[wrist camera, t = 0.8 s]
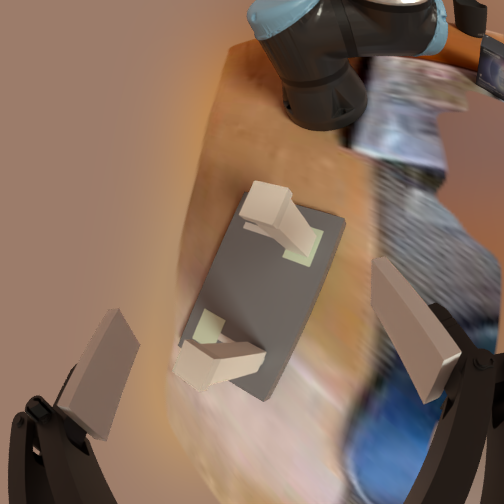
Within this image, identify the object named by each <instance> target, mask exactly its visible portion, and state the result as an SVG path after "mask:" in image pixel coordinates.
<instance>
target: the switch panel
mask: <svg viewBox="0 0 504 504" xmlns="http://www.w3.org/2000/svg"><path fill="white" fill-rule="evenodd" d="M247 195H248V192H244V194H243V197H242V199H241V201H240V203H239V205H238V207H237V210H236V212H235V214H234V216H233V218H232V221H231V223H230V225H229V227H228V229H227V232H226V234H225V236H224V238H223V241H222V243H221V245H220V247H219V250H218V252H217V254H216V256H215V259H214V261H213V263H212V266H211V268H210V270H209V272H208V275H207V277H206V279H205V282H204V284H203V286H202V289H201V291H200V293H199V296H198V298H197V301H196V303H195V305H194V308H193V310H192V313H191V315H190V317H189V320H188V322H187V325H186V327H185V329H184V332H183V334H182V337H181V339H180V342H179V344H178V346H179V347H181V348H182V345H183V343H184V340H194V341H196V342H197V343H198V344H207V343H232V342H249V343H251V344H253V345H255V346H257V347H258V348H260V349H262V350H264V351H266V352H267V353H266V355H265V357H264V359H263V361H262V363H261V365H260V367H259V369H258V371H257V372H255V373H252V374H249V375H245V376H242V377H238V378H235V379H231V380H228V381H230V382H232V383H233V384H235V385H236V386H238V387H240V388H241V389H243V390H244V391H246V392H248V393H249V394H251V395H253V396H254V397H256V398H258V399H260V400H261V401H263V402H264V401H266V400H268V399H270V397H271V395H272V393H273V391H274V389H275V387H276V385H277V383H278V381H279V379H280V377H281V375H282V373H283V371H284V369H285V367H286V365H287V363H288V361H289V359H290V357H291V355H292V353H293V351H294V349H295V347H296V345H297V343H298V340H299V338H300V336H301V334H302V332H303V330H304V327H305V325H306V323H307V321H308V318H309V316H310V314H311V312H312V309H313V307H314V305H315V302H316V300H317V298H318V295H319V293H320V291H321V288H322V286H323V283H324V281H325V278H326V276H327V273H328V271H329V268H330V266H331V263H332V261H333V258H334V256H335V253H336V250H337V248H338V245H339V242H340V240H341V237H342V234H343V231H344V229H345V226H346V222H345V219H344V218H341V217H338V216H334V215H331V214H328V213H324V212H321V211H317V210H314V209H310V208H306V207H303V206H299V205H295V206H296V207H297V208H298V210H299V211H300V213H301V214H302V216H303V217H304V218H305V220H306V221H307V223H308V224H309V226H310V227H311V228H312V230H313V231H314V233H315V234H316V236H317V237H316V239H315V242H314V244H313V247H312V249H311V252H310V254H309V257H308V258H307V257H305V256H302V255H299V254H296V253H293V252H291V251H288V250H286V249H285V248H284V247H283V246H282V245H281V244H279V243H278V242H277V241H276V240H275V239H274V238H272V237H271V236H270V235H269V234H268V233H266V232H265V231H264V230H263V229H262V228H260V227H259V226H258V225H257V224H256V223H254V222H251V221H248V220H245V219H243V218H242V217H241V216H239V213H240V211H241V208H242V206H243V204H244V202H245V200H246V198H247Z"/></svg>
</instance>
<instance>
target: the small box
mask: <svg viewBox="0 0 504 504" xmlns="http://www.w3.org/2000/svg"><path fill="white" fill-rule="evenodd" d="M476 84H477V85H478V86H480V87H482V88H484V89H486V90H487V91H489V92H491V93H492V94H494V95H496V96H497V97H499V98H501V99H502V100H504V44H503V43H501V42H499V41H497V40H495V39H493V38H491V37H490V36H488V35H485V34H483V38H482V42H481V48H480V58H479V65H478V72H477V78H476Z"/></svg>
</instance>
